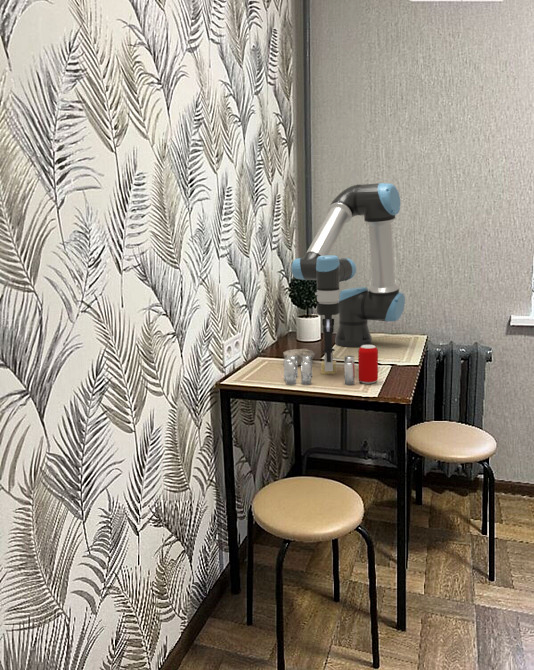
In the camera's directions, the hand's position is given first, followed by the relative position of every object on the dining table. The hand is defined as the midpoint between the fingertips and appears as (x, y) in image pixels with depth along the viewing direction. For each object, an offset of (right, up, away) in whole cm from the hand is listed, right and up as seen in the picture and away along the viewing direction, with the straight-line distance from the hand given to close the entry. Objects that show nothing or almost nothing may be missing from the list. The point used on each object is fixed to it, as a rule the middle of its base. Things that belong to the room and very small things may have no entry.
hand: (328, 370), depth 210 cm
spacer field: (-1, -3, -6) cm, 7 cm away
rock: (-10, +1, +17) cm, 19 cm away
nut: (0, -1, +3) cm, 4 cm away
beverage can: (+12, -3, -10) cm, 16 cm away
